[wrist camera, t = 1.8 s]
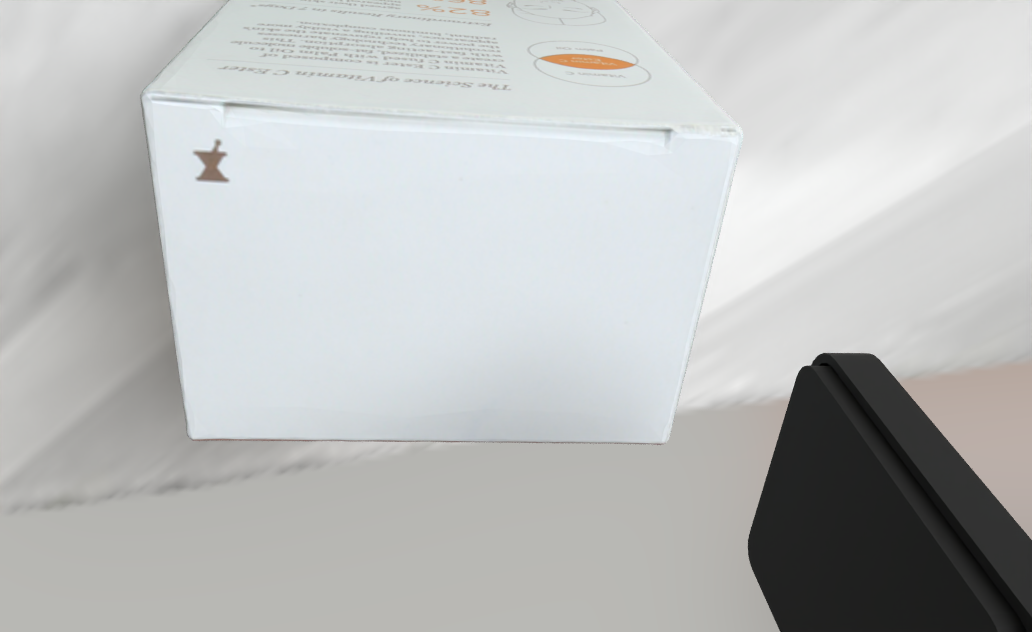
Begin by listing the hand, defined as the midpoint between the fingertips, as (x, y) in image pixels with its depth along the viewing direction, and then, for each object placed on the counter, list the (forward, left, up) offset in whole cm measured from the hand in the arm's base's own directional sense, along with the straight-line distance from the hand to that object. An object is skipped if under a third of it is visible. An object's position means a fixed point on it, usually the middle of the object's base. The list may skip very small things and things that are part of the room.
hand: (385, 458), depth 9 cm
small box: (-1, 0, -14) cm, 14 cm away
